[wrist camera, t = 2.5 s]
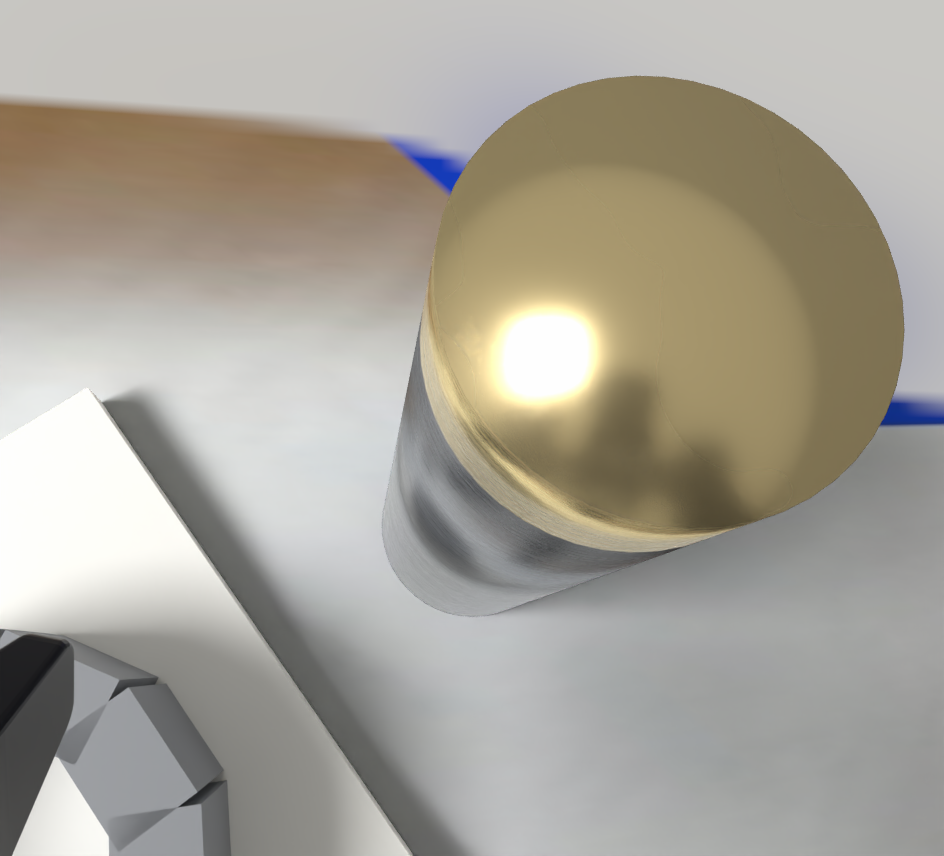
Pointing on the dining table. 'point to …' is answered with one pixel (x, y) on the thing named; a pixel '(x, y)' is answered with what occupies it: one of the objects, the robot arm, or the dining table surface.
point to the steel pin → (633, 342)
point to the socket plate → (158, 671)
